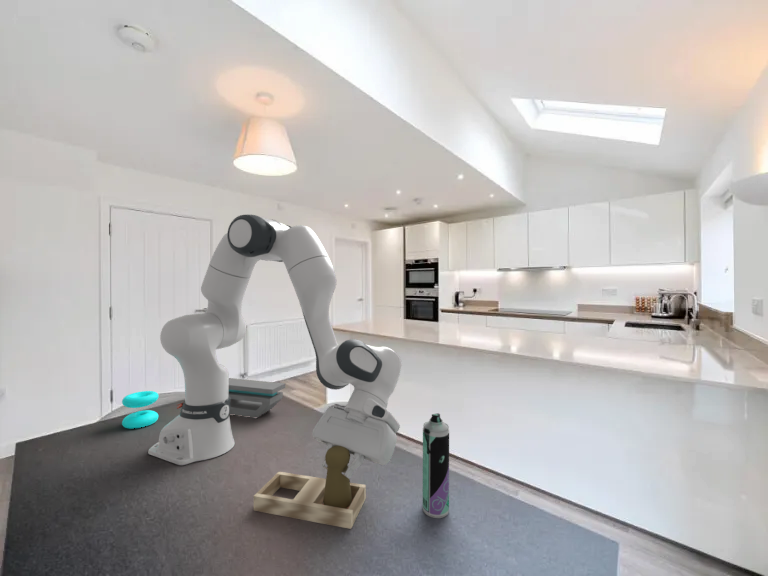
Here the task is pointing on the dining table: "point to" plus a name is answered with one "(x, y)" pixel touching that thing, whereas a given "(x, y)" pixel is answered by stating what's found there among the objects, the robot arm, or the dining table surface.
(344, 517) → the socket rail
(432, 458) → the spray can
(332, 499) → the olive round-headed peg
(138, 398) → the donuts
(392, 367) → the robot arm
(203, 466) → the dining table surface
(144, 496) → the dining table surface
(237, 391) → the grey lidded container
